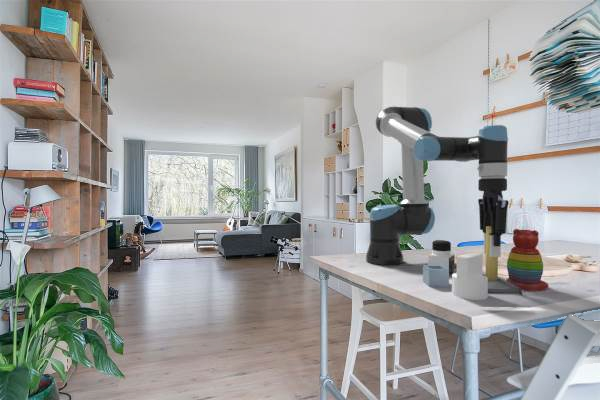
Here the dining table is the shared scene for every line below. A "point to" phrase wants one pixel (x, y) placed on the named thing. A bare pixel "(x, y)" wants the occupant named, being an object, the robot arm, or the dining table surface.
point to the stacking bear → (526, 262)
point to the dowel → (490, 259)
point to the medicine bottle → (442, 255)
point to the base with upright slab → (470, 278)
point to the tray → (502, 287)
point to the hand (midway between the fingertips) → (491, 255)
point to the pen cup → (436, 275)
